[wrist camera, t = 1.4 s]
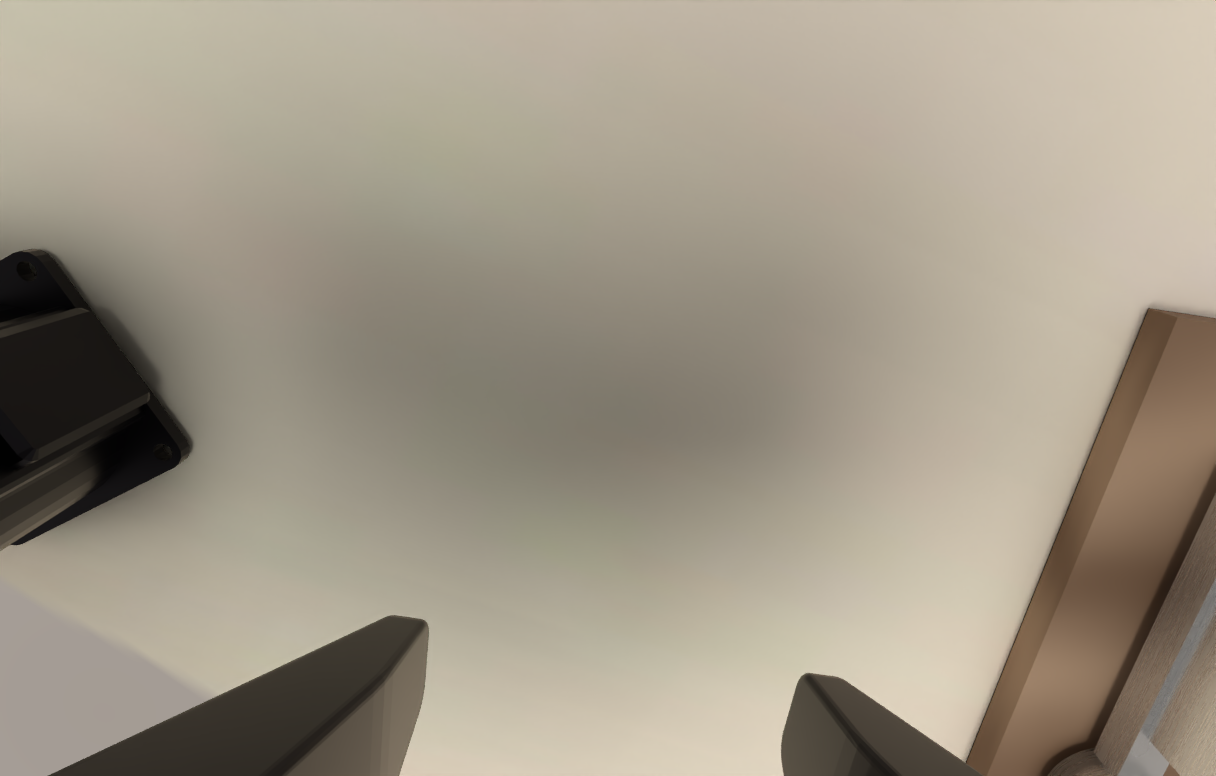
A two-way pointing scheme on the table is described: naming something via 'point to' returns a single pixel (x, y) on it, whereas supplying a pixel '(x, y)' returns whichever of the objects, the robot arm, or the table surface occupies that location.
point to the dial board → (1111, 554)
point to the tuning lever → (1167, 683)
